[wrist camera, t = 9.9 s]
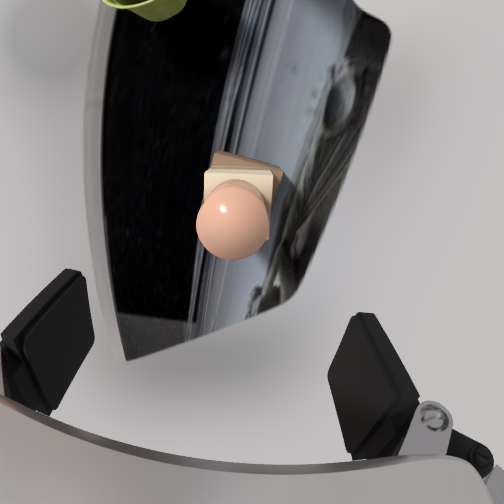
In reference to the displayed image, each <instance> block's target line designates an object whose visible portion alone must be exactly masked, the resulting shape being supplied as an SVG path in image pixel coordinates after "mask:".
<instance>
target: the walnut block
mask: <svg viewBox="0 0 504 504" xmlns="http://www.w3.org/2000/svg"><path fill="white" fill-rule="evenodd" d="M212 166H238V167H260V168H269V169H270V171H271V173H272V174H273V187H272V201H271V210H272V207H273V204H274V201H275V198H276V194H277V191H278V188H279V185H280V182H281V178H282V175H283V171H282V169H281V168H280V167H279V166H275V165H272V164H268V163H265V162H261V161H258V160H254V159H250V158H247V157H243V156H239V155H236V154H232V153H228V152H224V151H220V150H219V151H217V152H215V153H214V157H213V161H212V165H211V167H212ZM203 204H204V196H203V201H202V205H201V207H202V206H203Z"/></svg>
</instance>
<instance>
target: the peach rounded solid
mask: <svg viewBox="0 0 504 504" xmlns="http://www.w3.org/2000/svg"><path fill="white" fill-rule="evenodd" d="M196 228H197V233H198V236H199V239H200V241H201V242H202V244H203V245H204V247H205V248H206V249H207V250H208V251H210V252H211V253H212V254H214V255H216V256H218V257H220V258H223V259H228V260H238V259H243V258H246V257H249V256H251V255H252V254H254V253H255V252H257V251H258V250H259V249H260V248H261V247H262V245H263V244H264V242H265V240H266V238H267V235H268V231H269V221H268V216H267V211H266V206H265V202H264V198H263V196H262V194H261V192H260V191H259V190H258V188H257V187H255V186H254V185H253V184H251V183H250V182H248V181H245V180H241V179H231V180H227V181H224V182H222V183H220V184H219V185H217V186H216V187H215V188H214V189H213V190H212V192H211V193H210V195H209V196H208V198H207V199H206V201H205V202H204V204H203V206H202V207H201V209H200V211H199V213H198V216H197V222H196Z"/></svg>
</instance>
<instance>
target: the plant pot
mask: <svg viewBox="0 0 504 504" xmlns="http://www.w3.org/2000/svg"><path fill="white" fill-rule="evenodd" d="M144 1H145V0H103V2H104V3H105V4H107V5H109V6H111V7H113V8H118V9H129V10H131V11H132V12H134V13H136V14H138V15H140V16H141V17H143V18H145V19H147V20H150V21H163V20H167V19H169V18H170V17H172V16H174V15H176V14H178V13H179V12H180V11H181V10H182V9H183V8H184V6H185V4H186V2H187V0H147V1H146V2H144Z"/></svg>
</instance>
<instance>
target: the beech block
mask: <svg viewBox="0 0 504 504" xmlns="http://www.w3.org/2000/svg"><path fill="white" fill-rule="evenodd" d="M231 179H241V180H245V181H248V182H250V183H251V184H253V185H254V186H255V187H257V188H258V190H259V191H260V192H261V194H262V196H263V198H264V202H265V206H266V211H267V216H268V221H269V229H270V215H271V201H272V187H273V174H272V173H271V171H270V169H269V168H260V167H238V166H212V167H211V168H210V169H208V170H207V171H206V172H205V173H204V202H205V201H206V199H207V198H208V196H209V195H210V193H211V192H212V190H213V189H214V188H215V187H216V186H217V185H219V184H220V183H222V182H224V181H227V180H231ZM266 240H269V231H268V235H267V238H266Z"/></svg>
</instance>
